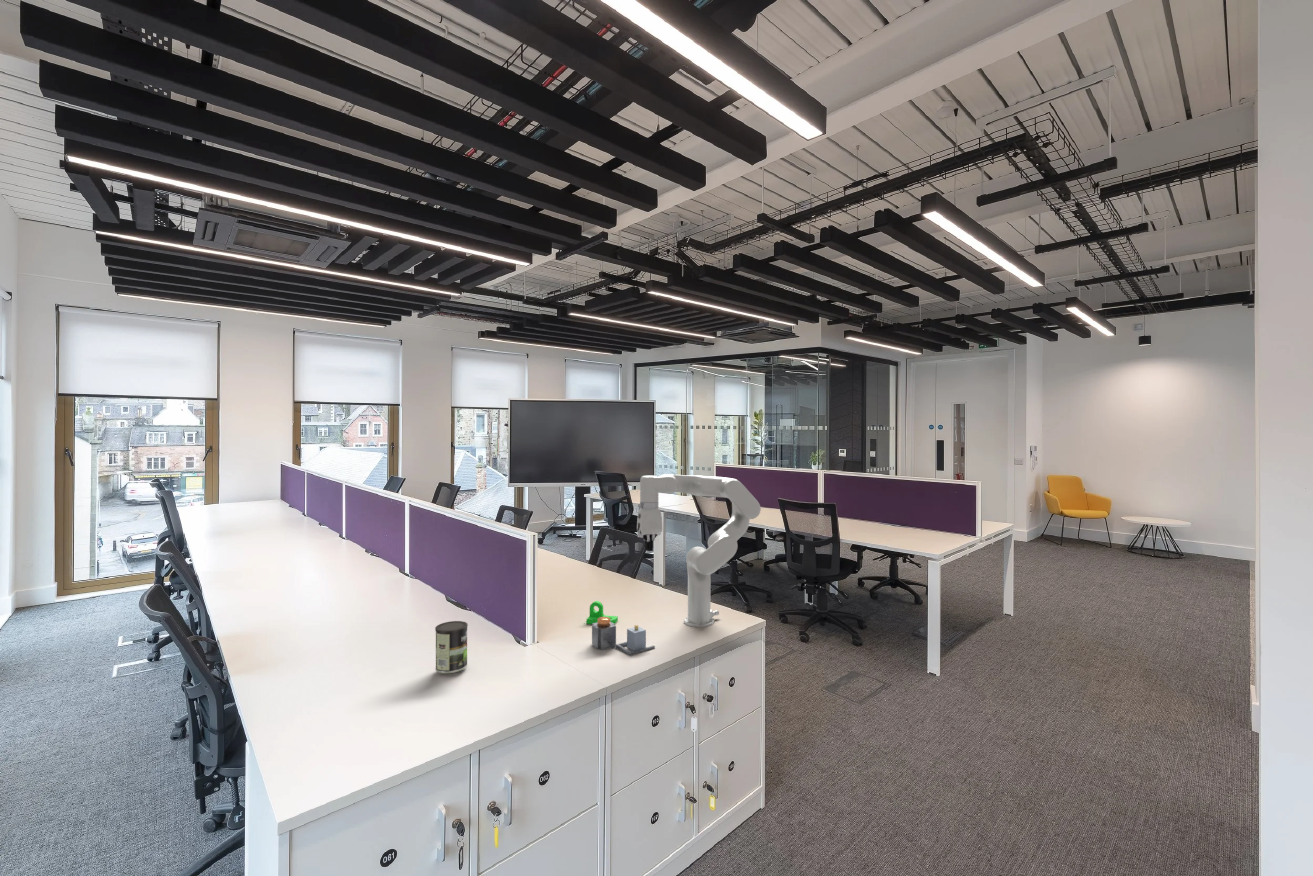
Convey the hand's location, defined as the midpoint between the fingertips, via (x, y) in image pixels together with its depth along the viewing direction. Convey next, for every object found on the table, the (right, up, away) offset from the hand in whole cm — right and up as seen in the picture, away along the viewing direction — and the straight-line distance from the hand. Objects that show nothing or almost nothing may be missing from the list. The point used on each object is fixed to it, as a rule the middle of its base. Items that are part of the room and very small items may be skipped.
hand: (649, 550), depth 220 cm
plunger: (-17, -30, -18) cm, 39 cm away
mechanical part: (-20, -33, +8) cm, 39 cm away
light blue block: (-4, -32, -21) cm, 39 cm away
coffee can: (-67, -32, -37) cm, 83 cm away
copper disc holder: (-17, -32, -18) cm, 40 cm away
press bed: (-4, -32, -22) cm, 39 cm away
